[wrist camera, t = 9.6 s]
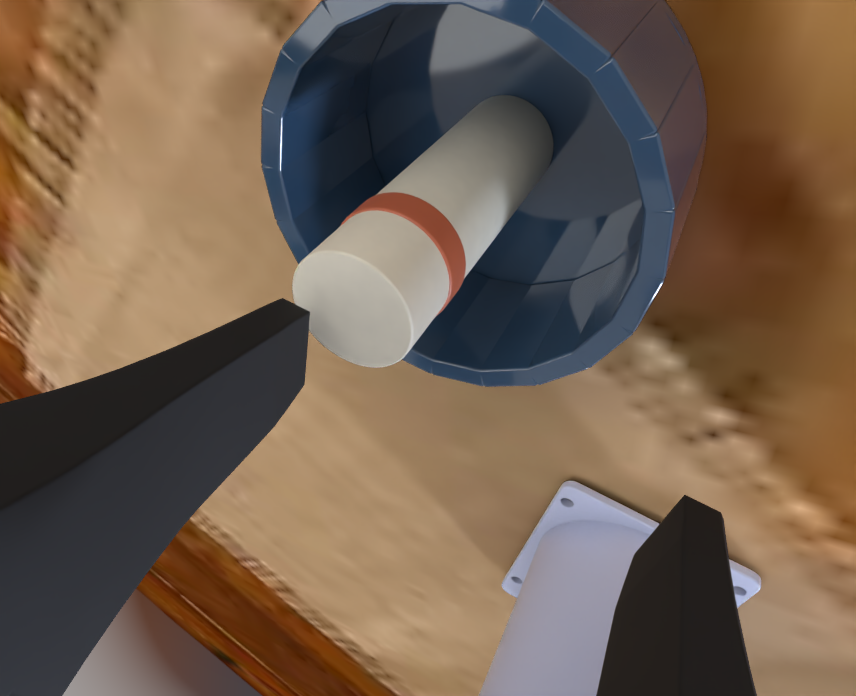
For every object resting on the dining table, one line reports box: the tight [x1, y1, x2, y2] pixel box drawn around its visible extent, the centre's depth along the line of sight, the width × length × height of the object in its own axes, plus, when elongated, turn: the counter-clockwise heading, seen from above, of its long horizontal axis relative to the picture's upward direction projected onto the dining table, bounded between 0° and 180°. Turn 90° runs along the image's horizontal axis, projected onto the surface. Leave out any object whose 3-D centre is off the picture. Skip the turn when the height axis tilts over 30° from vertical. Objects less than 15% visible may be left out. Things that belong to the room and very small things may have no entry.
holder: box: [261, 0, 707, 387], centre depth 17 cm, size 10×10×5 cm
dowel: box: [292, 95, 553, 368], centre depth 15 cm, size 3×3×8 cm
